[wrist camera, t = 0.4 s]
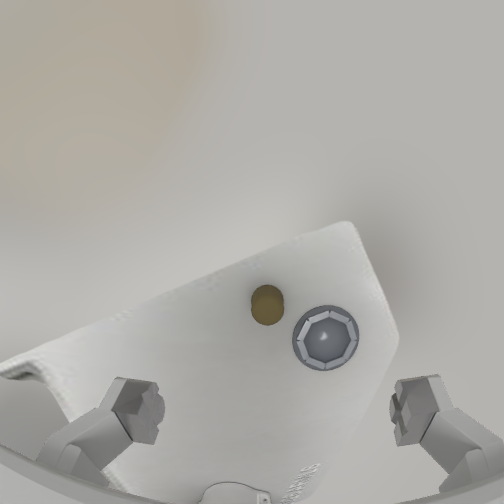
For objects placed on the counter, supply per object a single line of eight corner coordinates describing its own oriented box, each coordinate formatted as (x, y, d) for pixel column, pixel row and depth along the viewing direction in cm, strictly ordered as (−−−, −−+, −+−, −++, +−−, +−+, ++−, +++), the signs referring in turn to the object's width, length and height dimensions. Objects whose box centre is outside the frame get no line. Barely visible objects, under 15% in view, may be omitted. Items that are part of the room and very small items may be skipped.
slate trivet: (365, 354, 60) (367, 357, 58) (304, 379, 60) (305, 382, 59) (346, 295, 60) (348, 296, 59) (283, 320, 61) (283, 321, 59)
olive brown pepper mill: (289, 296, 61) (295, 305, 50) (271, 322, 61) (272, 337, 50) (263, 278, 61) (262, 284, 50) (245, 305, 61) (240, 316, 50)
